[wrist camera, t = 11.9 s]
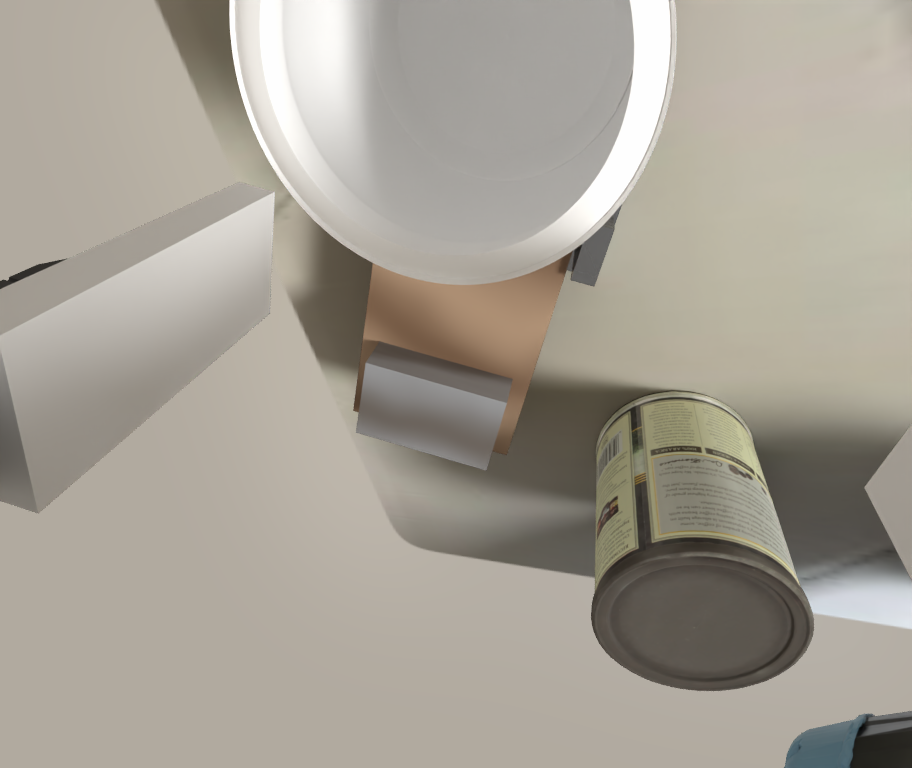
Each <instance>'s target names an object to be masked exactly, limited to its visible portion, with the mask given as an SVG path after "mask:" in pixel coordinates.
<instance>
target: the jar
mask: <svg viewBox="0 0 912 768" xmlns="http://www.w3.org/2000/svg"><path fill="white" fill-rule="evenodd" d="M230 34H231V45H232V53H233V60H234V65H235V71H236V76H237V80H238V84H239V88H240V92H241V96H242V99H243V102H244V105H245V108H246V111H247V114H248V117H249V120H250V122H251V125H252V127H253V130H254V132H255V134H256V137H257V139H258V141H259V143H260V145H261V147H262V149H263V151H264V153H265V155H266V157H267V159H268V160H269V162H270V164H271V166H272V167H273V169H274V170H275V172H276V174H277V175H278V177H279V178H280V180H281V181H282V183H283V184H284V185H285V187H286V188H287V190H288V191H289V192H290V194H291V195H292V196H293V197H294V199H295V200H296V201H297V202H298V203H299V205H300V206H301V207H302V208H303V209H304V210H305V211H306V212H307V214H308V215H309V216H310V217H311V218H312V219H313V220H314V221H315V222H316V223H317V224H319V225H320V226H321V227H322V228H323V229H324V230H325V231H326V232H327V233H329V234H330V235H331V236H332V237H334V238H335V239H336V240H337V241H339V242H340V243H341V244H343V245H344V246H346V247H347V248H349V249H350V250H352V251H353V252H355V253H356V254H358V255H360V256H361V257H363V258H365V259H367V260H368V261H370V262H372V263H374V264H376V265H378V266H381V267H383V268H385V269H387V270H390V271H392V272H395V273H398V274H401V275H404V276H407V277H410V278H414V279H418V280H423V281H427V282H433V283H440V284H451V285H476V284H487V283H494V282H499V281H504V280H509V279H512V278H516V277H519V276H523V275H525V274H528V273H531V272H534V271H536V270H538V269H541V268H543V267H545V266H547V265H549V264H551V263H553V262H555V261H557V260H558V259H560V258H562V257H564V256H565V255H567V254H568V253H570V252H571V251H573V250H574V249H576V248H577V247H578V246H580V245H581V244H582V243H584V242H585V241H586V240H587V239H589V238H590V237H591V236H592V235H593V234H594V233H595V232H597V231H598V230H599V229H600V228H601V227H602V226H603V225H604V224H605V223H606V222H607V221H608V220H609V218H610V217H611V216H612V215H613V214H614V213H615V212H616V210H617V209H618V208H619V207H620V206H621V204H622V203H623V202H624V200H625V199H626V198H627V196H628V195H629V193H630V192H631V190H632V189H633V187H634V186H635V184H636V183H637V181H638V179H639V178H640V176H641V174H642V172H643V171H644V169H645V167H646V165H647V163H648V161H649V159H650V157H651V154H652V152H653V150H654V148H655V145H656V143H657V140H658V138H659V135H660V132H661V129H662V126H663V123H664V120H665V116H666V113H667V109H668V105H669V101H670V96H671V91H672V85H673V79H674V72H675V62H676V47H677V23H676V7H675V0H230Z"/></svg>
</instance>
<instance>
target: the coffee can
mask: <svg viewBox="0 0 912 768" xmlns="http://www.w3.org/2000/svg"><path fill="white" fill-rule="evenodd" d="M596 461H597V481H596V545H595V594H594V597H593V602H592V612H591V620H592V626H593V630H594V633H595V635H596V638H597V640H598V642H599V644H600V645H601V646H602V648H603V649H604V650H605V652H606V653H607V654H608V655H609V656H610V657H611V658H613V659H614V660H615V661H616V662H618V663H619V664H620V665H621V666H623V667H625V668H627V669H628V670H629V671H631V672H633V673H635V674H637V675H639V676H641V677H643V678H645V679H647V680H650V681H652V682H656V683H659V684H662V685H666V686H670V687H675V688H680V689H688V690H697V691H722V690H731V689H738V688H743V687H747V686H751V685H754V684H758V683H761V682H764V681H767V680H769V679H771V678H773V677H775V676H777V675H779V674H781V673H782V672H784V671H785V670H787V669H789V668H790V667H791V666H793V665H794V664H795V663H796V662H797V661H798V660H799V659H800V658H801V657H802V656H803V654H804V653H805V651H806V650H807V648H808V646H809V644H810V642H811V639H812V637H813V631H814V618H813V613H812V610H811V607H810V604H809V602H808V599H807V597H806V595H805V593H804V591H803V590H802V588H801V587H800V584H799V581H798V578H797V575H796V572H795V569H794V566H793V563H792V559H791V556H790V553H789V550H788V547H787V544H786V541H785V538H784V535H783V532H782V529H781V526H780V523H779V520H778V517H777V514H776V511H775V508H774V505H773V501H772V498H771V496H770V493H769V490H768V487H767V484H766V481H765V478H764V475H763V472H762V469H761V466H760V463H759V460H758V457H757V454H756V451H755V448H754V442H753V438H752V435H751V432H750V430H749V428H748V426H747V425H746V423H745V422H744V420H743V419H742V418H741V417H740V416H739V415H738V414H737V413H736V412H735V410H733V409H732V408H730V407H729V406H727V405H725V404H723V403H722V402H720V401H718V400H716V399H714V398H712V397H708V396H705V395H702V394H697V393H691V392H677V391H670V392H664V393H656V394H652V395H648V396H644V397H642V398H639V399H637V400H634V401H632V402H630V403H628V404H627V405H625V406H624V407H622V408H621V409H619V410H618V411H616V413H615V414H614V415H613V416H612V417H611V418H610V419H609V420H608V421H607V423H606V424H605V426H604V427H603V429H602V431H601V433H600V435H599V438H598V441H597V445H596Z"/></svg>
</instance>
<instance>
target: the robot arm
mask: <svg viewBox="0 0 912 768" xmlns="http://www.w3.org/2000/svg"><path fill="white" fill-rule="evenodd" d="M274 198H275V192H274V191H270V190H267V189H263V188H260V187H256V186H252V185H249V184H245V183H241V182H238V183H235V184H233V185H231V186H229V187H227V188H224V189H222V190H220V191H218V192H215V193H214V194H211V195H209V196H207V197H204V198H202V199H200V200H198V201H196V202H193V203H191V204H189V205H187V206H184V207H182V208H180V209H178V210H175V211H173V212H171V213H169V214H166V215H164V216H162V217H160V218H158V219H155V220H153V221H151V222H149V223H147V224H144V225H142V226H140V227H138V228H135V229H133V230H131V231H129V232H126V233H124V234H122V235H120V236H117V237H115V238H113V239H111V240H109V241H107V242H104V243H102V244H100V245H97V246H95V247H93V248H91V249H89V250H86V251H84V252H82V253H80V254H77V255H75V256H73V257H71V258H68V259H64V260H58V261H54V262H49V263H44V264H39V265H36V266H34V267H31V268H29V269H27V270H25V271H22V272H20V273H18V274H15V275H13V276H11V277H9V280H8V281H6V280H2V281H0V501H2V502H5V503H9V504H11V505H14V506H17V507H20V508H23V509H26V510H29V511H32V512H35V513H39V512H40V511H42V510H43V509H44V508H45V507H46V506H48V505H49V504H50V503H51V502H52V501H53V500H54V499H55V498H57V497H58V496H59V495H60V494H61V493H63V492H64V491H65V490H66V489H67V488H68V487H70V485H72V484H73V483H74V482H75V481H76V480H78V479H79V478H80V477H81V476H82V475H83V474H85V473H86V472H87V471H88V470H89V469H90V468H92V467H93V466H94V465H95V464H96V463H97V462H98V461H100V460H101V459H102V458H103V457H104V456H105V455H107V454H108V453H109V452H110V451H111V450H112V449H113V448H115V447H116V446H117V445H118V444H119V443H120V442H122V441H123V440H124V439H125V438H126V437H127V436H129V435H130V434H131V433H132V432H133V431H134V430H135V429H137V427H139V426H140V425H141V424H142V423H144V422H145V421H146V420H147V419H148V418H149V417H151V416H152V415H153V414H154V413H155V412H156V411H157V410H159V409H160V408H161V407H162V406H163V405H164V404H165V403H167V402H168V401H169V400H170V399H171V398H173V397H174V396H175V395H176V394H177V393H178V392H179V391H180V390H182V389H183V388H184V387H185V386H186V385H187V384H189V383H190V382H191V381H192V380H193V379H194V378H196V377H197V376H198V375H199V374H200V373H202V372H203V371H204V370H205V369H206V368H207V367H208V366H209V365H211V364H212V363H213V362H214V361H215V360H217V359H218V358H219V357H220V356H221V355H222V354H224V353H225V352H226V351H227V350H228V349H229V348H230V347H232V346H233V345H234V344H235V343H236V342H237V341H238V340H240V339H241V338H242V337H243V336H244V335H245V334H247V333H248V332H249V331H250V330H251V329H252V328H254V327H255V326H256V325H257V324H258V323H259V322H260V321H262V320H263V319H264V318H265V317H266V316H267V315H269V314H270V297H271V272H272V247H273V223H274ZM864 488H865V490H866V492H867V494H868V496H869V498H870V500H871V502H872V504H873V506H874V508H875V510H876V512H877V513H878V515H879V517H880V519H881V521H882V523H883V525H884V527H885V529H886V531H887V533H888V535H889V537H890V539H891V541H892V543H893V545H894V547H895V549H896V551H897V553H898V555H899V556H900V558H901V560H902V562H903V564H904V566H905V568H906V570H907V572H908V574H909V576H910V578H911V580H912V424H911V426H910V427H909V428H908V430H907V431H906V432H905V434H904V435H903V436H902V438H901V439H900V440H899V442H898V443H897V444H896V446H895V447H894V448H893V450H892V451H891V452H890V454H889V455H888V456H887V458H886V459H885V460H884V462H883V463H882V464H881V466H880V467H879V468H878V470H877V471H876V472H875V474H874V475H873V476H872V478H871V479H870V480H869V482H868V483H867V484H866V486H865V487H864ZM784 768H912V711H908V712H902V713H895V714H889V715H882V716H875V715H873V714H863V715H859V716H858V717H857V718H856V719H855V720H850V721H846V722H841V723H837V724H832V725H828V726H823V727H818V728H813V729H809V730H807V731H805V732H803V733H801V735H799V736H798V737H797V738H796V739H795V740H794V741H793V743H792V744H791V746H790V748H789V751H788V753H787V757H786V763H785V767H784Z"/></svg>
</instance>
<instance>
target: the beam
mask: <svg viewBox="0 0 912 768" xmlns="http://www.w3.org/2000/svg"><path fill="white" fill-rule="evenodd" d="M572 252H573V251H571V252H570V253H568V254H567V255H565V256H564V257H562V258H560V259H558V260H557V261H555V262H553V263H551V264H549V265H547V266H545V267H543V268H541V269H538V270H536V271H534V272H531V273H528V274H525V275H523V276H519V277H516V278H512V279H509V280H504V281H499V282H494V283H487V284H476V285H451V284H440V283H433V282H427V281H423V280H418V279H414V278H410V277H407V276H404V275H401V274H398V273H395V272H392V271H390V270H387V269H385V268H383V267H381V266H378V265H376V264H374V263H373V265H372V273H371V281H370V288H369V296H368V303H367V311H366V318H365V326H364V334H363V341H362V349H361V356H360V364H359V372H358V379H357V387H356V394H355V402H354V409H353V411H356V412H359V415H358V422H357V429H356V433H360V434H363V435H367V436H370V437H373V438H377V439H380V440H384V441H387V442H390V443H394V444H397V445H401V446H404V447H407V448H411V449H414V450H418V451H421V452H425V453H428V454H431V455H435V456H438V457H442V458H445V459H448V460H452V461H455V462H459V463H462V464H465V465H469V466H472V467H476V468H479V469H483V470H487V467H488V464H489V460H490V457H491V454H492V451H494V452H497V453H501V454H504V455H507V453H508V449H509V446H510V443H511V440H512V437H513V434H514V431H515V428H516V425H517V422H518V419H519V415H520V412H521V409H522V406H523V403H524V400H525V397H526V394H527V391H528V388H529V385H530V381H531V378H532V375H533V372H534V369H535V366H536V363H537V360H538V357H539V354H540V351H541V347H542V344H543V341H544V338H545V335H546V332H547V329H548V326H549V323H550V320H551V317H552V314H553V310H554V307H555V304H556V301H557V298H558V295H559V292H560V289H561V286H562V283H563V280H564V276H565V273H566V270H567V267H568V264H569V261H570V258H571V255H572Z"/></svg>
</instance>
